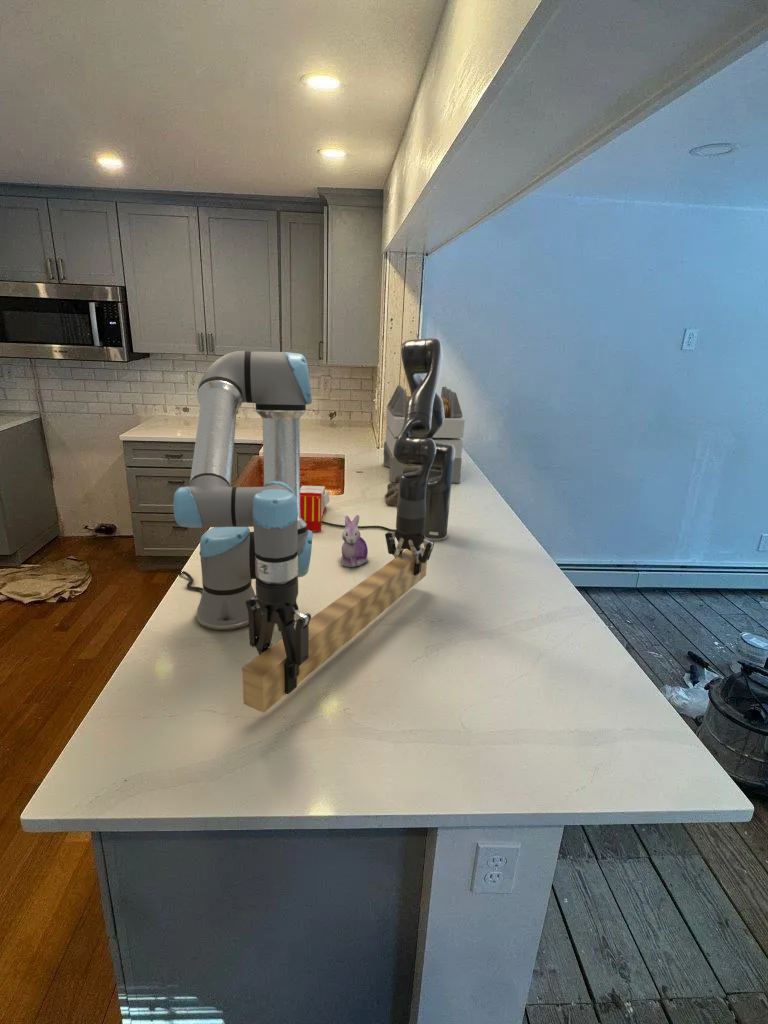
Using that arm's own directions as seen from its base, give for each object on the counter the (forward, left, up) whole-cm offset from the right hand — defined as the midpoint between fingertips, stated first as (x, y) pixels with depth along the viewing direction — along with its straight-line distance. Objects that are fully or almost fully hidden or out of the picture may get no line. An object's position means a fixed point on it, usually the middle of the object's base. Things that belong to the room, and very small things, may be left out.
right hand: (407, 571), depth 153 cm
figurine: (-25, +9, -8) cm, 28 cm away
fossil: (-49, +70, -8) cm, 86 cm away
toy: (-61, +29, -8) cm, 68 cm away
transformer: (-64, +110, -8) cm, 127 cm away
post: (+3, -27, -3) cm, 27 cm away
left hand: (+6, -54, -2) cm, 54 cm away
